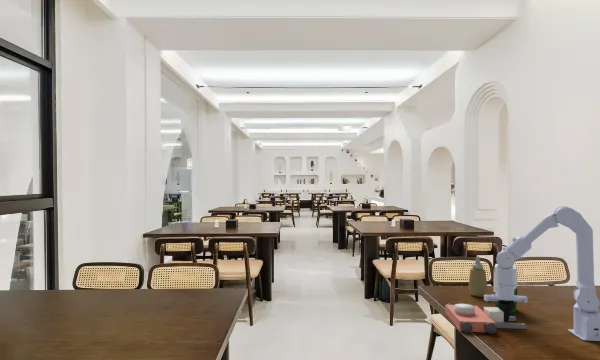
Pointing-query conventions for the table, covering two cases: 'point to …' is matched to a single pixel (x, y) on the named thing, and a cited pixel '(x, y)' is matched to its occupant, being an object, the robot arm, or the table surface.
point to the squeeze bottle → (477, 279)
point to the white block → (495, 314)
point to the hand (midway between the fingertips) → (505, 321)
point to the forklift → (476, 319)
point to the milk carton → (514, 285)
